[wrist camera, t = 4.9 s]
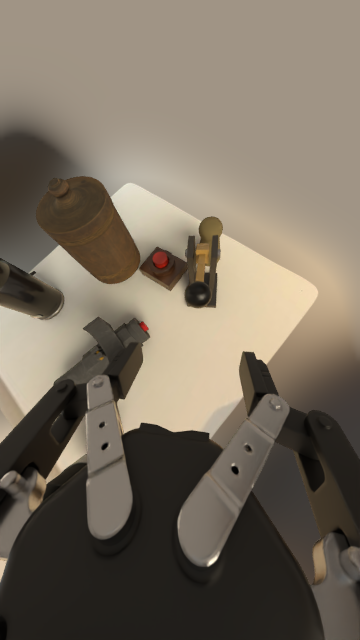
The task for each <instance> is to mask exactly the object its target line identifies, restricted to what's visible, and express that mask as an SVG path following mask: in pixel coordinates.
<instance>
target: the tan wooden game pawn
mask: <svg viewBox="0 0 360 640" xmlns="http://www.w3.org/2000/svg"><path fill="white" fill-rule="evenodd" d="M222 230H223V226H222V223H221V221H220V220H219V219H218V218H216V217H207V218H205V219H204V220H203V221H202V222H201V223H200V226H199V235H200V237H201V240H200V244H201V243H209V244H210V245H209V262H208V264H205V266H210V261H211V248H212V236H213V235H218V249H220V240H219V237H220V236H221V234H222ZM219 259H220V258H218V259H217V262H218V261H219Z"/></svg>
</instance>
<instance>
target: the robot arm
mask: <svg viewBox="0 0 360 640" xmlns="http://www.w3.org/2000/svg"><path fill="white" fill-rule="evenodd" d="M35 273H36V272H35V271H33V272H32V273H30V274H28V273H26V272H25V271H23V270H21V269H19V268H17V267H16V266H14V265H12V264H10V263H8V262H6V261H5V260H3V259H1V258H0V306H3V307H6V308H9V309H12V310H15V311H18V312H21V313H24V314H27V315H30V317H33V318H38V319H42V320H47V319H50V318H52V317H54V316H55V315H57V314H58V313H59V312H60V310H61V309H62V307H63V304H64V296H63V294H62V292H61V291H59V290H57V289H55V288H53V287H51V286H50V285H48V284H46V283H44V282H42V281H41V280H39V279H37V278H35V277H33V275H34V274H35ZM142 363H143V354H142V348H141V343H138V342H130V343H129V345H128V346H127V348H123V349H121V350H120V351H118V353H117V354H116V355H115V357H114V358H113V359H112V361H111V362H110V363H109V365H108V366H107V368H106V369H105V370H104V372H103V373H102V374H101V375H97V376H95V377H93V378H92V379H90V380H89V382H88V383H82V384H76V385H75V383H74V381H73V380H71V379H66V380H62V381H60V382H58V383H56V384H55V385H54V386H53V387H52V388H51V389H50V390H49V391H48V392H47V393H46V394H45V395H44V396H43V398H42V399H41V400H40V401H39V402H38V403H37V404H36V405H35V406H34V407H33V408H32V410H31V411H30V412H29V413H28V414H27V415H26V416H25V417H24V418H23V419H22V420H21V421H20V423H19V424H18V425H17V426H16V427H15V428H14V429H13V430H12V431H11V432H10V433H9V435H8V436H7V437H6V438H5V439H4V440H3V441H2V442H1V443H0V560H2V561H7V563H6V566H5V570H4V573H3V576H2V579H1V582H0V640H360V459H359V458H358V456H357V454H356V453H355V451H354V449H353V448H352V446H351V444H350V442H349V441H348V439H347V438H346V436H345V434H344V433H343V431H342V429H341V427H340V426H339V424H338V423H337V422H336V421H335V420H334V419H333V418H332V417H331V416H329V415H328V414H326V413H324V412H321V411H317V410H312V411H310V412H309V413H308V414H306V413H303V412H301V411H298V410H295V409H293V408H291V407H289V406H288V404H287V403H286V401H285V400H284V399H282V398H281V397H279V395H278V392H277V390H276V387H275V385H274V382H273V380H272V378H271V375H270V373H269V370H268V368H267V365H266V364H265V363H264V362H263V361H262V360H257V359H256V357H255V354H254V352H244V351H243V352H242V357H241V362H240V367H239V375H240V380H241V385H242V390H243V395H244V400H245V405H246V410H247V415H248V417H249V418H248V419H247V418H246V419H245V420H244V421H243V423H242V424H241V426H240V427H239V428H238V430H237V431H236V433H235V434H234V435H233V437H232V438H231V440H230V441H229V443H228V444H227V446H226V447H225V448H224V449H223V448H222V447H221V446H220V445H218V444H217V443H216V442H214V441H213V440H210V439H209V433H206V432H199V431H193V430H191V431H183V432H171V431H169V430H167V429H165V428H162V427H160V426H158V425H154V424H147V423H141V425H140V428H138V429H134V430H131V431H129V432H127V433H125V434H124V431H123V427H122V423H121V419H120V414H119V410H118V406H117V401H118V400H119V399H125V397H126V395H127V393H128V391H129V389H130V387H131V385H132V383H133V381H134V379H135V377H136V375H137V373H138V371H139V369H140V367H141V365H142ZM60 413H61V414H60ZM58 416H59V417H58ZM84 416H85V417H86V440H87V465H86V466H85V467H83V468H82V469H81V470H80V471H79V472H78V473H76V474H75V475H74V476H73V477H72V478H70V479H69V480H68V481H67V482H66V483H64V484H63V485H62V486H61V487H60V488H59V489H57V490H56V491H55V492H54V493H53V494H51V495H50V496H49V497H48V498H47V499H45V500H44V501H43V502H42V500H43V495H44V493H45V490H46V485H47V484H46V478H47V477H48V475H49V473H50V472H51V470H52V468H53V467H54V465H55V463H56V462H57V460H58V458H59V457H60V455H61V453H62V452H63V450H64V449H65V447H66V445H67V444H68V442H69V440H70V439H71V437H72V435H73V434H74V432H75V430H76V429H77V427H78V425H79V424H80V422H81V420H82V419H83V417H84ZM57 417H58V418H57ZM55 420H56V421H55ZM54 421H55V422H54ZM52 424H53V425H52ZM275 442H277V443H279V444H281V445H283V446H285V447H287V448H289V449H291V450H293V452H294V455H295V458H296V461H297V464H298V467H299V470H300V473H301V477H302V479H303V483H304V486H305V489H306V492H307V496H308V499H309V502H310V505H311V508H312V511H313V514H314V517H315V521H316V523H317V527H318V530H319V533H320V536H321V539H319V540H318V541H317V542H315V544H314V546H313V552H312V553H313V562H314V567H315V577H314V581H313V583H312V585H310V584H309V582H308V579H307V577H306V575H305V573H304V571H303V570H302V568H301V566H300V564H299V563H298V561H297V560H296V558H295V556H294V555H293V553H292V552H291V550H290V549H289V547H288V546H287V544H286V543H285V541H284V540H283V538H282V536H281V535H280V534H279V532H278V531H277V529H276V527H275V526H274V524H273V523H272V521H271V520H270V518H269V516H268V515H267V513H266V512H265V510H264V509H263V507H262V506H261V504H260V503H259V501H258V499H257V498H256V496H255V495H254V493H253V492H252V488H253V486H254V484H255V482H256V480H257V478H258V476H259V474H260V472H261V470H262V468H263V466H264V464H265V462H266V459H267V457H268V455H269V453H270V451H271V449H272V447H273V445H274V443H275Z"/></svg>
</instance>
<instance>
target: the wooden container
mask: <svg viewBox="0 0 360 640" xmlns="http://www.w3.org/2000/svg"><path fill="white" fill-rule="evenodd" d="M48 190H49V191H48V192H47V193H46V194H45V195H44V196H43V198H42V199H41V201H40V202H39V205H38V207H37V210H36V219H37V222H38V224H39V226H40V227H41V228H42V229H43V230H44V231H45V232H46V233H47V234H48V235H49V236H51V237H52V238H53V239H54V240H55V241H56V242H58V244H59V245H60V246H62V247H63V248H64V249H65V250H66V251H67V252H68V253H69V254H70V255H71V256H72V257H73V258H74V259H75V260H76V261H77V262H78V263H80V264H81V265H82V266H83V267H84V268H85V269H86V270H87V271H89V272H90V273H91V274H92V275H93V276H94V277H95V278H97V279H98V280H99V281H101V282H103V283H107V284H115V283H120V282H122V281H124V280H126V279H128V278H129V277H131V276H132V275H133V274H134V272H135V271H136V270H137V268H138V266H139V263H140V253H139V251H138V249H137V247H136V245H135V243H134V241H133V239H132V237H131V235H130V233H129V232H128V230H127V228H126V226H125V224H124V223H123V221H122V219H121V218H120V216H119V214H118V212H117V210H116V209H115V207H114V205H113V202H112V200H111V198H110V196H109V194H108V193H107V191H106V189H105V187H104V186H103V184H102V183H101V182H99V181H98V180H96V179H94V178H91V177H84V176H81V177H74V178H70V179H67V180H62V179H57V178H53V179H52V180H51V181H50V182H49V185H48Z"/></svg>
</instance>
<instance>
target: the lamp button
mask: <svg viewBox="0 0 360 640" xmlns="http://www.w3.org/2000/svg"><path fill="white" fill-rule="evenodd" d="M153 262H154V264H155V266H156V267H158V268H164V267H166V266H167V264H168V258H167V255H166V253H164V252H157V253H155V254H154V256H153Z"/></svg>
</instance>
